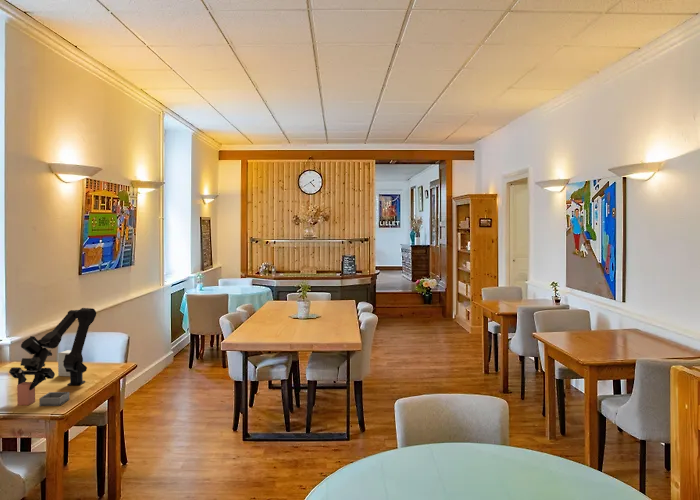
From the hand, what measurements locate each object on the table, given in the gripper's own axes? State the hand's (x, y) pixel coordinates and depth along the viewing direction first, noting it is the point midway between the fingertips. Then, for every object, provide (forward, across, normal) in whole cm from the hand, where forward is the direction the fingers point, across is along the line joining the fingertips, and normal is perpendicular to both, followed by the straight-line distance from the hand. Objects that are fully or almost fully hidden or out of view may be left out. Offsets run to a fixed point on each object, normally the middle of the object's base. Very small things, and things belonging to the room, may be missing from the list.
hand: (24, 389), depth 240 cm
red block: (+4, 0, +6) cm, 7 cm away
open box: (+3, +12, +6) cm, 14 cm away
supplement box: (-30, -7, +40) cm, 50 cm away
